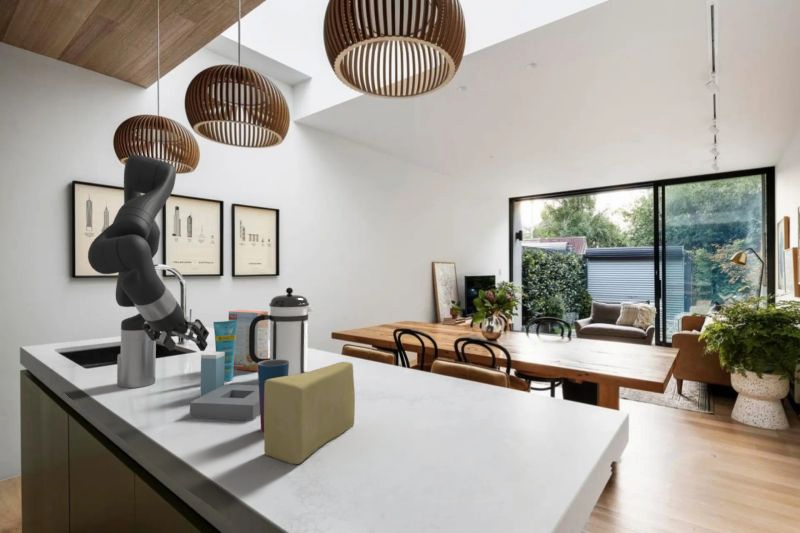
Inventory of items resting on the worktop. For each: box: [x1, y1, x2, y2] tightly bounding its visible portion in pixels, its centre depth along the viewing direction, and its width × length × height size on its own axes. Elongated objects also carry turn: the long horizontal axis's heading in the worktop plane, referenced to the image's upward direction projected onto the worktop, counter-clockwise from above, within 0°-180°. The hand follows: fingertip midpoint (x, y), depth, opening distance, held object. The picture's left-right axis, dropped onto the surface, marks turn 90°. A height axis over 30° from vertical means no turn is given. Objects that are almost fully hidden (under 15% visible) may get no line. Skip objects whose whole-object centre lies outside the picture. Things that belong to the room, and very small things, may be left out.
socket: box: [189, 384, 260, 421], centre depth 108 cm, size 16×16×4 cm
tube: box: [213, 320, 238, 382], centre depth 135 cm, size 7×5×19 cm, turn 134°
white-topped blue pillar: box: [200, 351, 225, 397], centre depth 118 cm, size 4×4×12 cm
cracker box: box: [228, 309, 269, 373], centre depth 150 cm, size 14×6×21 cm, turn 65°
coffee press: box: [249, 287, 314, 376], centre depth 138 cm, size 17×16×30 cm
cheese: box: [263, 361, 356, 465], centre depth 88 cm, size 22×10×15 cm, turn 148°
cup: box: [257, 359, 289, 434], centre depth 93 cm, size 7×7×15 cm
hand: (188, 347), depth 107 cm, fingers open, 8 cm apart
